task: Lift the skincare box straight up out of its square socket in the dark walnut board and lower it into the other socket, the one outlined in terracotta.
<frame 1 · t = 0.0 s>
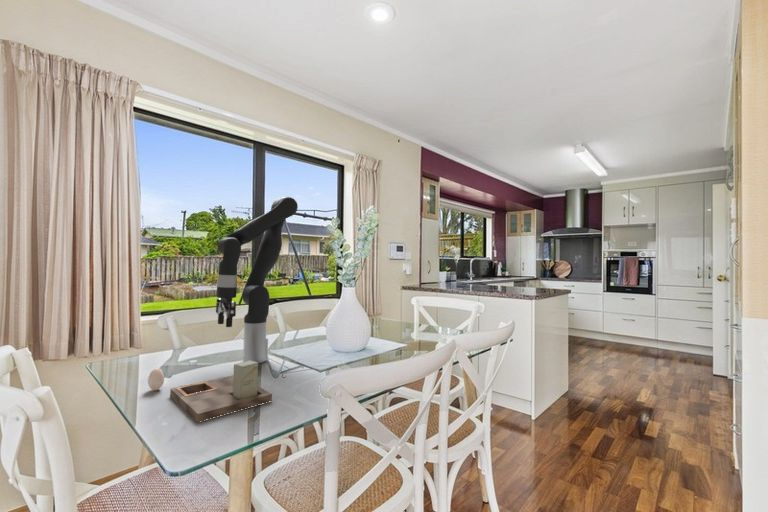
hand: (224, 325, 151), 17 cm above the table, tool pointing down, fingers open, 8 cm apart
socket board: (220, 399, 118), on the table
skincare box: (245, 402, 116), resting in socket board
egg: (155, 390, 124), on the table
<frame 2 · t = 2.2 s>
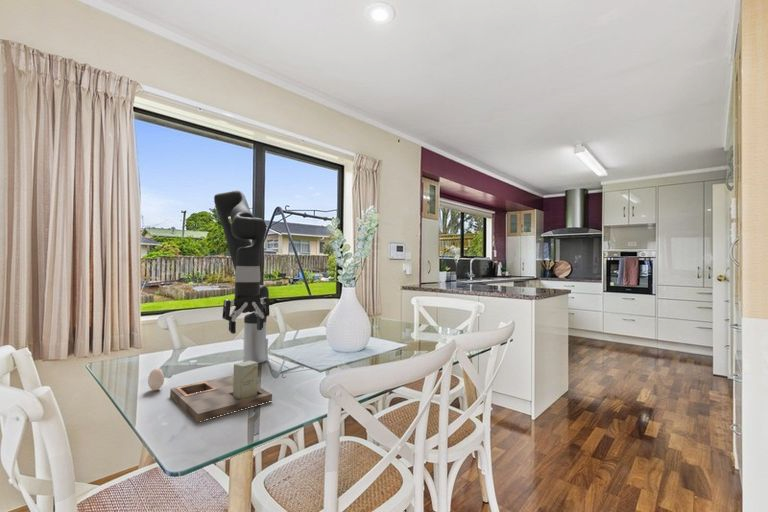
hand: (246, 331, 116), 22 cm above the table, tool pointing down, fingers open, 8 cm apart
nothing on the table moved.
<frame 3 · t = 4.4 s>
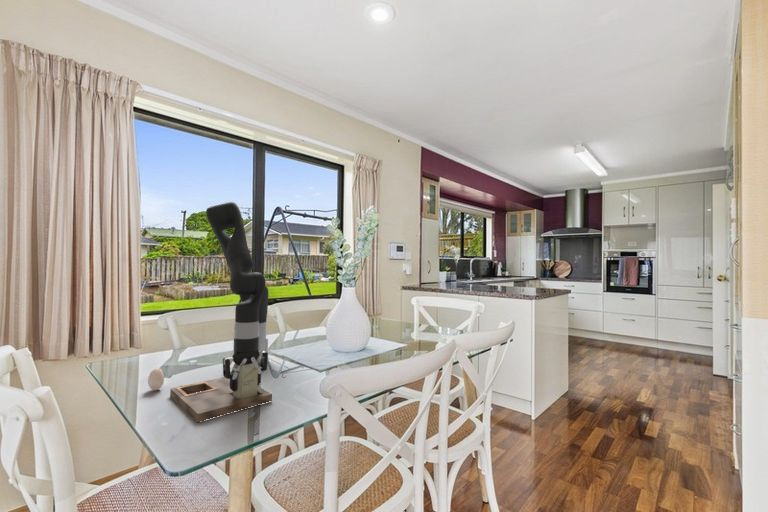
hand: (245, 387, 116), 4 cm above the table, tool pointing down, fingers closed on skincare box, 7 cm apart
skincare box: (245, 402, 116), resting in socket board, touching gripper
everything else where it was.
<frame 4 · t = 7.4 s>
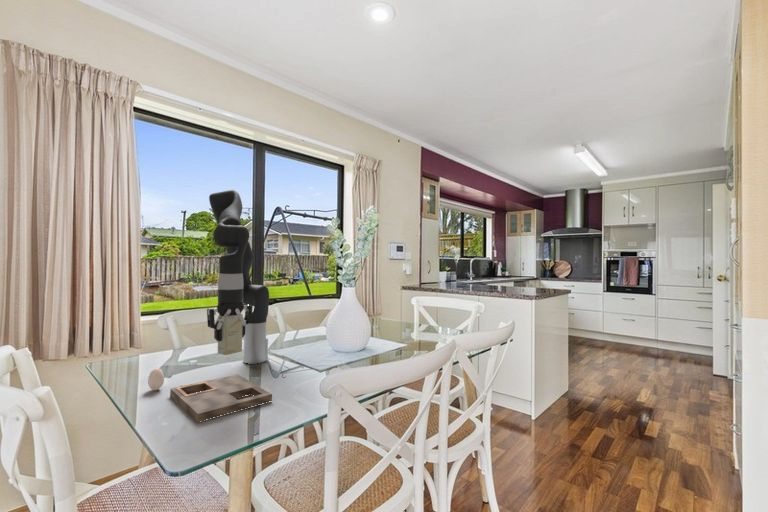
hand: (229, 338, 118), 19 cm above the table, tool pointing down, fingers closed on skincare box, 7 cm apart
skincare box: (230, 353, 118), point 15 cm above the table, touching gripper
everything else where it was.
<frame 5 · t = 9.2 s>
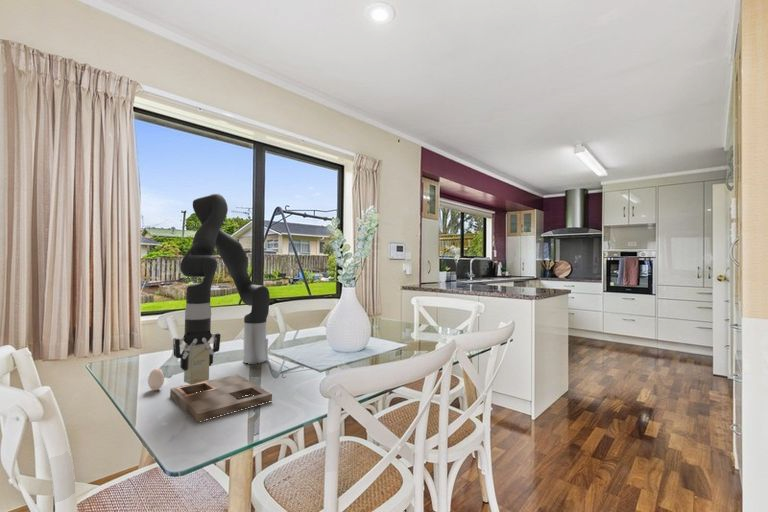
hand: (196, 367, 119), 9 cm above the table, tool pointing down, fingers closed on skincare box, 7 cm apart
skincare box: (196, 381, 119), point 5 cm above the table, touching gripper
everything else where it was.
when the fingers open (6 cm above the table, at t = 10.5 s): skincare box drops 1 cm, resting in socket board.
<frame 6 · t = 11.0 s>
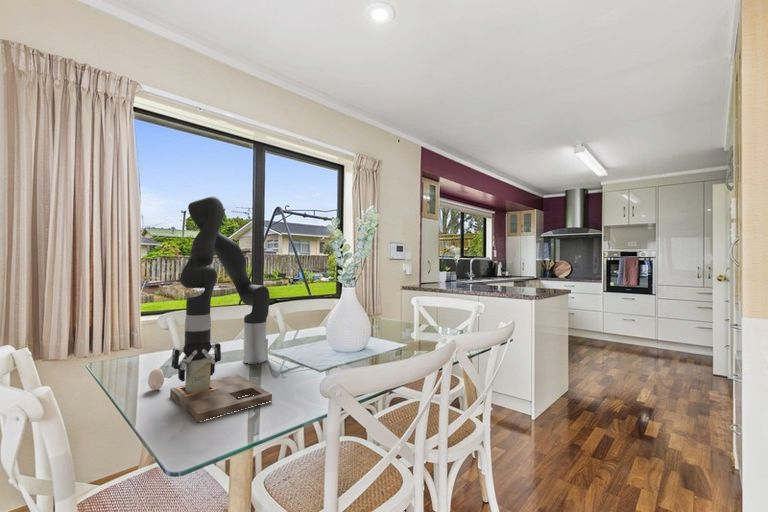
hand: (196, 377, 119), 6 cm above the table, tool pointing down, fingers open, 8 cm apart
skincare box: (197, 397, 119), resting in socket board
everything else where it was.
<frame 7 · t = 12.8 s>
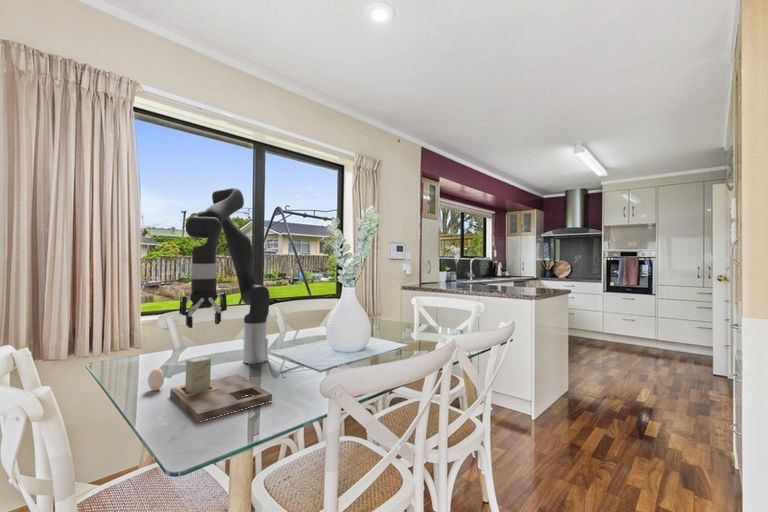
hand: (203, 325, 122), 22 cm above the table, tool pointing down, fingers open, 8 cm apart
nothing on the table moved.
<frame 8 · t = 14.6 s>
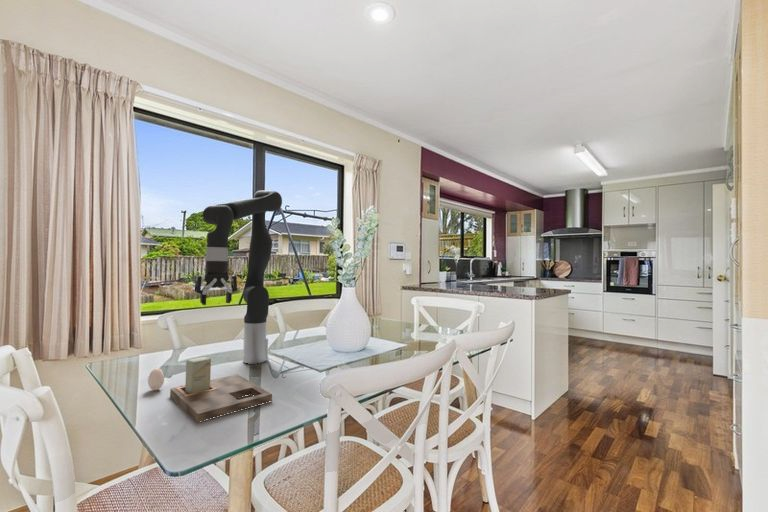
hand: (216, 303, 135), 28 cm above the table, tool pointing down, fingers open, 8 cm apart
nothing on the table moved.
at the end: skincare box 0.5 cm from the target spot on the socket board, point 0.0 cm above the socket board's base; skincare box tilted 0°; the gripper is holding nothing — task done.
